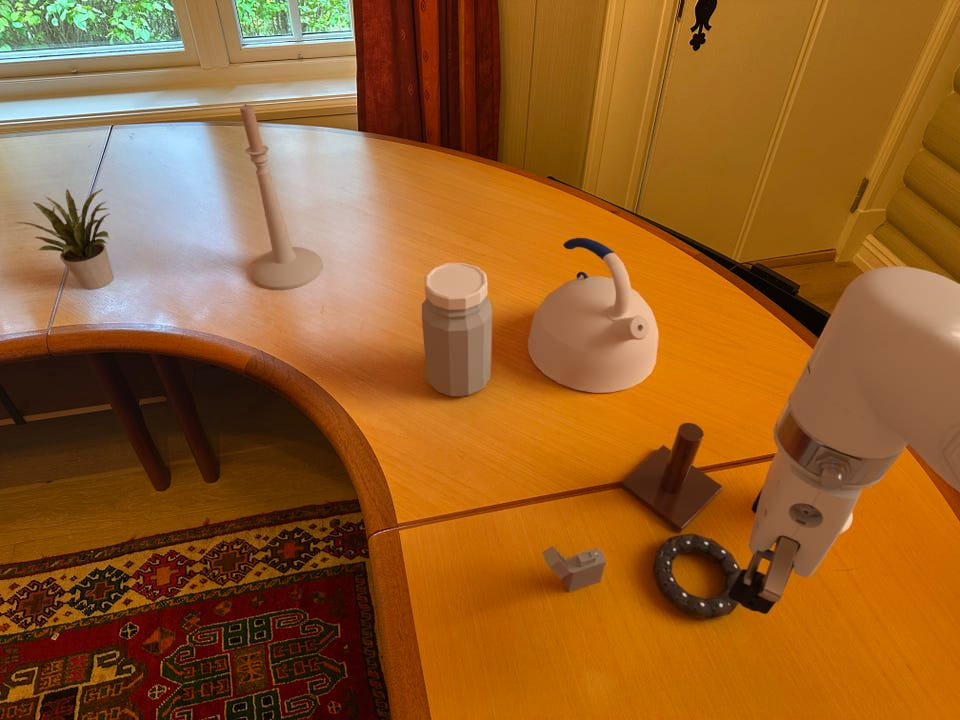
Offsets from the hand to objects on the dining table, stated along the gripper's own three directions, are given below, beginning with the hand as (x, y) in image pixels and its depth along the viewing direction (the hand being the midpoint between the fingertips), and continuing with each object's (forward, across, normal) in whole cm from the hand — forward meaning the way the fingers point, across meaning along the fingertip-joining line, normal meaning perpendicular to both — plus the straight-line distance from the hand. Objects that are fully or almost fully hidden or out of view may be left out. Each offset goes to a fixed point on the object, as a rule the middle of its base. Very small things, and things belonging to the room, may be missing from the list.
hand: (758, 557), depth 54 cm
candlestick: (+15, +28, +85) cm, 91 cm away
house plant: (+15, +9, +111) cm, 113 cm away
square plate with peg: (+14, +14, +9) cm, 22 cm away
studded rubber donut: (+13, +4, +3) cm, 14 cm away
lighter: (+14, -4, +15) cm, 21 cm away
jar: (+14, +18, +43) cm, 49 cm away
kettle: (+14, +34, +28) cm, 47 cm away
